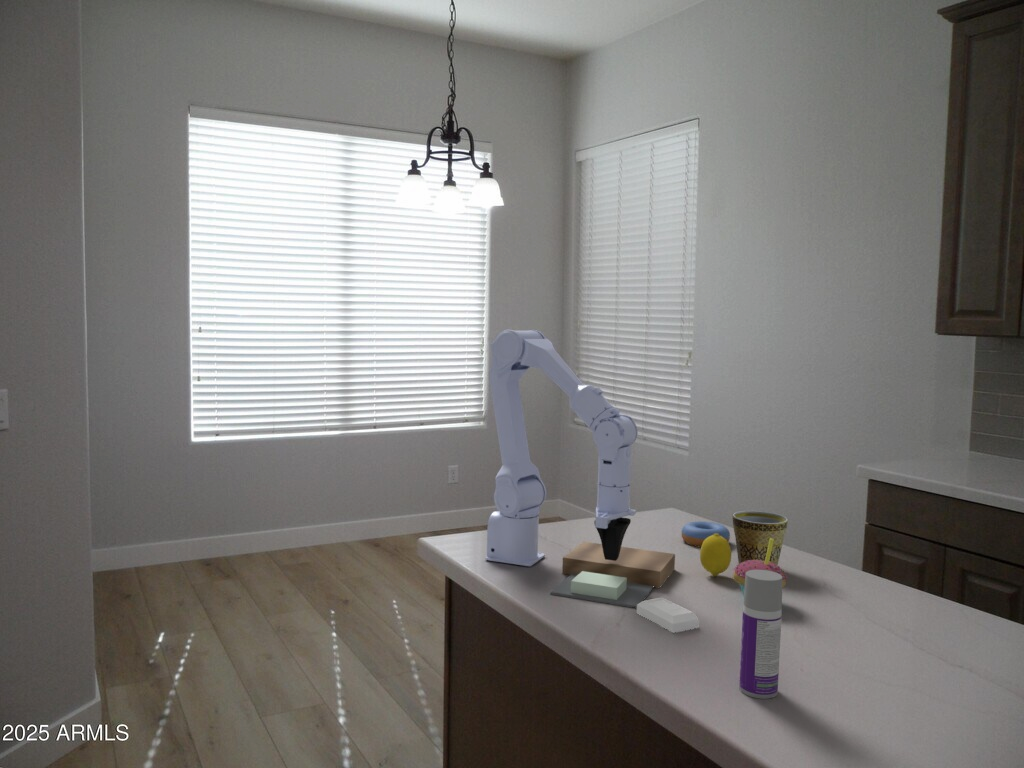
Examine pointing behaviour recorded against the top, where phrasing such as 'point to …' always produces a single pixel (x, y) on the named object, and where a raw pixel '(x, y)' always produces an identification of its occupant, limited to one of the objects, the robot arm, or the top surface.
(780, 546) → the ceramic cup
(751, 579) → the container
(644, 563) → the board
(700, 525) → the doughnut
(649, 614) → the soap bar
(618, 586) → the tile
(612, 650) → the top surface
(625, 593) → the mat
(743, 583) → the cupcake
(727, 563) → the lemon
